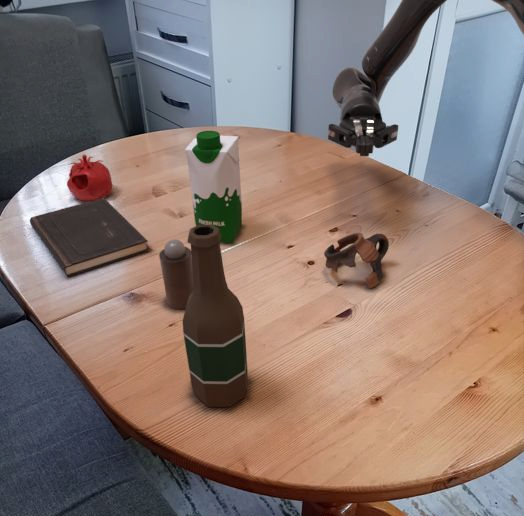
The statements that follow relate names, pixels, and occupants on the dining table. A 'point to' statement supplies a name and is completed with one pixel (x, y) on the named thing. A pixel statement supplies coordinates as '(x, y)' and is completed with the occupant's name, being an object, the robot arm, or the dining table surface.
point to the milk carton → (216, 182)
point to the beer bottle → (213, 326)
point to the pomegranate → (89, 180)
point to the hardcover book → (88, 236)
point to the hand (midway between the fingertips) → (365, 150)
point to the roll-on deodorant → (177, 273)
